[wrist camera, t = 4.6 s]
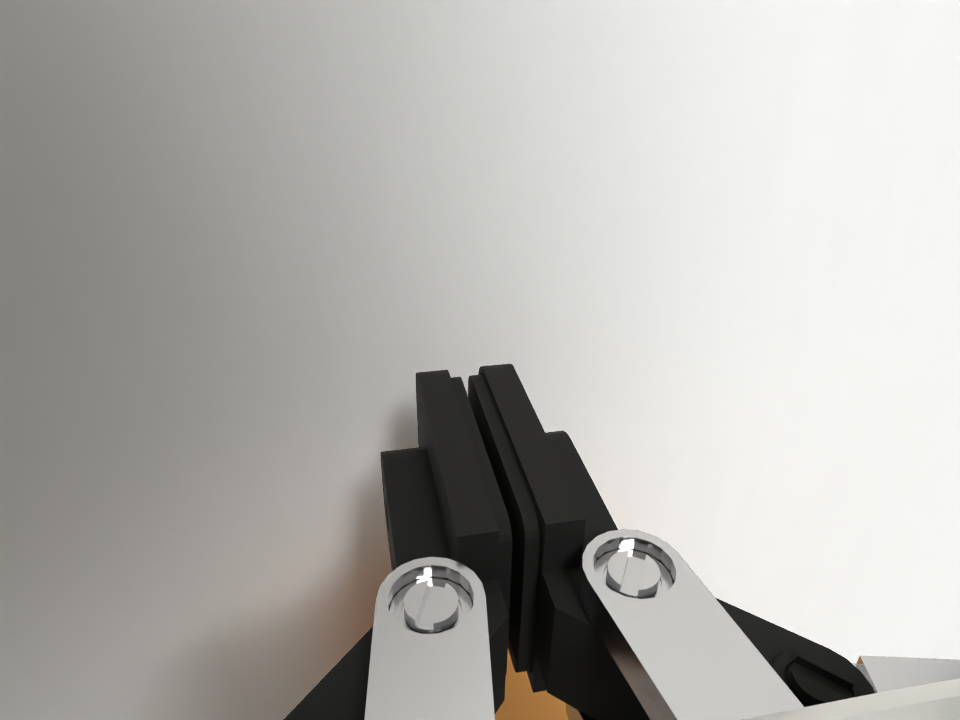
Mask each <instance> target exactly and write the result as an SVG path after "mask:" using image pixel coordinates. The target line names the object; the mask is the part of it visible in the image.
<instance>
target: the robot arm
mask: <svg viewBox="0 0 960 720" xmlns="http://www.w3.org/2000/svg"><path fill="white" fill-rule="evenodd" d="M416 398H417V421H418V444H419V448H411V449H402V450H394V451H385V452H381V468H382V481H383V493H384V504H385V514H386V524H387V532H388V541H389V549H390V556H391V564H392V572H391V573H390V574H388V576H387V577H386V578H385V580H384V581H383V582H382V584H381V585H380V587H379V590H378V594H377V597H376V602H375V613H374V624H373V627H372V628H371V629H370V630H369V631H368V632H367V633H366V634H365V635H364V636H363V637H362V638H361V640H360V641H359V642H358V643H357V644H356V645H355V646H354V647H353V648H352V649H351V650H350V651H349V652H348V653H347V654H346V655H345V656H344V657H343V658H342V659H341V660H340V661H339V663H338V664H337V665H336V666H335V667H334V668H333V669H332V670H331V671H330V672H329V673H328V674H327V675H326V676H325V677H324V678H323V679H322V680H321V681H320V682H319V683H318V685H317V686H316V687H315V688H314V689H313V690H312V691H311V692H310V693H309V694H308V695H307V696H306V697H305V698H304V699H303V700H302V701H301V702H300V703H299V704H298V705H297V706H296V708H295V709H294V710H293V711H292V712H291V713H290V714H289V715H288V716H287V717H286V718H285V719H284V720H495V714H496V712H497V711H498V709H499V708H500V706H501V705H502V703H503V702H504V700H505V680H506V672H507V654H508V650H509V654H510V657H511V661H512V664H513V667H514V670H515V672H516V673H519V672H525V671H527V674H528V678H529V681H530V685H531V688H532V691H533V693H535V692H541V691H546V690H547V693H549V694H551V695H553V696H554V697H556V698H558V699H559V700H561V701H563V702H565V703H566V713H567V716H568V719H569V720H960V660H950V659H926V658H902V657H878V656H860V657H859V659H858V661H857V664H852V663H850V662H849V661H848V660H847V659H846V658H844V657H842V656H841V655H839V654H837V653H835V652H834V651H832V650H830V649H828V648H826V647H824V646H822V645H819V644H817V643H815V642H813V641H810V640H808V639H806V638H804V637H802V636H799V635H797V634H795V633H793V632H790V631H788V630H786V629H784V628H781V627H779V626H777V625H775V624H773V623H770V622H768V621H766V620H764V619H761V618H759V617H757V616H755V615H752V614H750V613H748V612H746V611H744V610H741V609H739V608H737V607H735V606H732V605H730V604H728V603H726V602H724V601H721V600H719V599H717V598H715V597H714V596H713V595H712V593H711V592H710V591H709V590H708V589H707V587H706V586H705V585H704V584H703V582H702V581H701V580H700V579H699V578H698V576H697V575H696V574H695V573H694V571H693V570H692V569H691V568H690V567H689V565H688V564H687V563H686V562H685V560H684V559H683V558H682V557H681V556H680V554H679V553H678V552H677V551H676V550H675V549H673V548H672V547H671V546H670V545H669V544H668V543H667V542H665V541H663V540H661V539H660V538H658V537H656V536H654V535H651V534H648V533H645V532H641V531H637V530H626V529H621V530H618V529H617V527H616V525H615V523H614V521H613V519H612V517H611V515H610V514H609V512H608V510H607V508H606V506H605V504H604V502H603V500H602V498H601V496H600V494H599V492H598V491H597V489H596V487H595V485H594V483H593V481H592V479H591V477H590V475H589V473H588V471H587V469H586V468H585V466H584V464H583V462H582V460H581V458H580V456H579V454H578V452H577V450H576V448H575V447H574V445H573V443H572V441H571V439H570V437H569V436H568V434H567V433H566V432H564V431H557V432H549V433H545V432H544V430H543V428H542V425H541V423H540V421H539V419H538V417H537V415H536V413H535V411H534V409H533V407H532V404H531V402H530V400H529V398H528V396H527V394H526V392H525V390H524V388H523V386H522V383H521V381H520V379H519V377H518V375H517V373H516V371H515V369H514V367H513V365H512V364H502V365H492V366H482V367H480V369H479V375H473V376H469V380H468V396H467V393H466V390H465V388H464V385H463V382H462V379H461V377H453V378H451V377H450V374H449V372H448V370H441V371H430V372H420V373H416Z"/></svg>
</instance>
